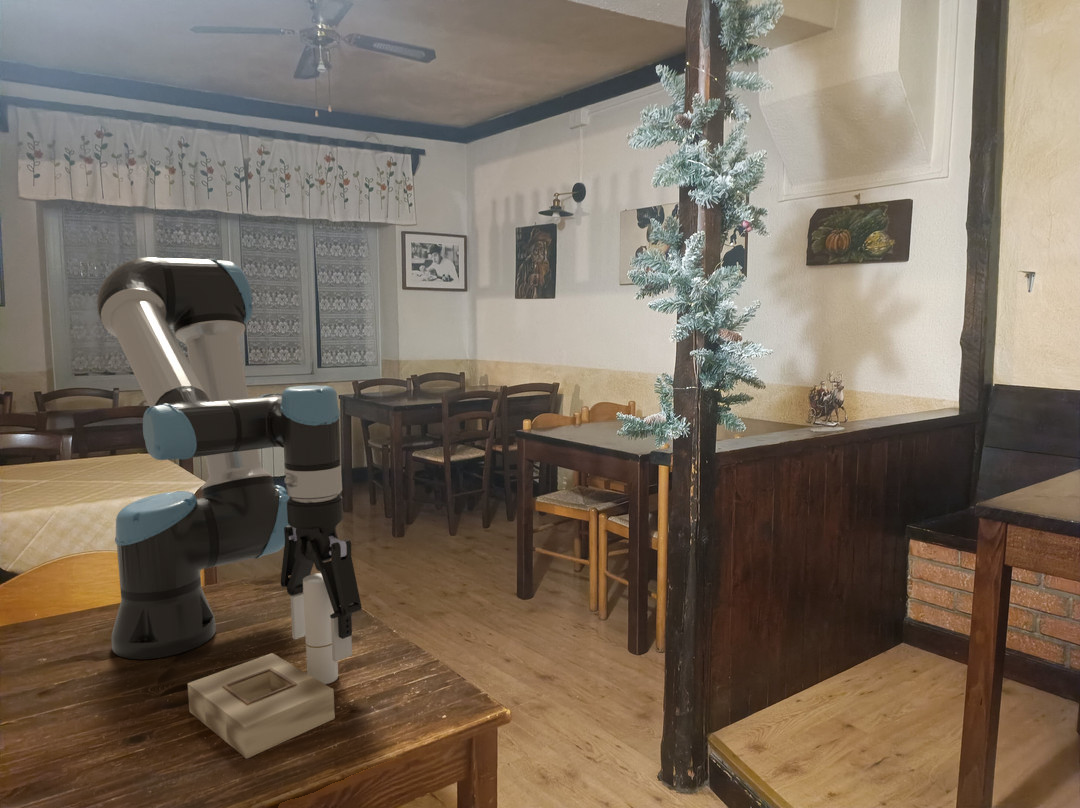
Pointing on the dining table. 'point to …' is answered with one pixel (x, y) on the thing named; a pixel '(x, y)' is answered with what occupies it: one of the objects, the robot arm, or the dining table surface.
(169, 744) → the dining table surface
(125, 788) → the dining table surface
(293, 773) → the dining table surface
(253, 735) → the socket board
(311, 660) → the tube
